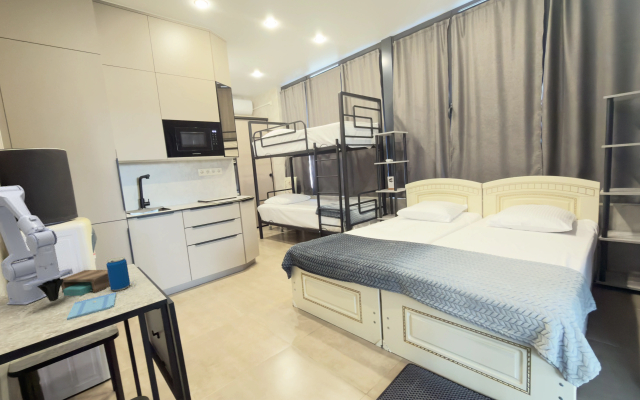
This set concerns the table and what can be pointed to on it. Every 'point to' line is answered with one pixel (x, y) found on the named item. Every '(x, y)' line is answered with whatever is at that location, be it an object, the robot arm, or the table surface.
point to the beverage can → (118, 273)
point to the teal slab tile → (78, 289)
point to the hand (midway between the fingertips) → (53, 300)
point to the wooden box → (88, 279)
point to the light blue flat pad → (92, 305)
